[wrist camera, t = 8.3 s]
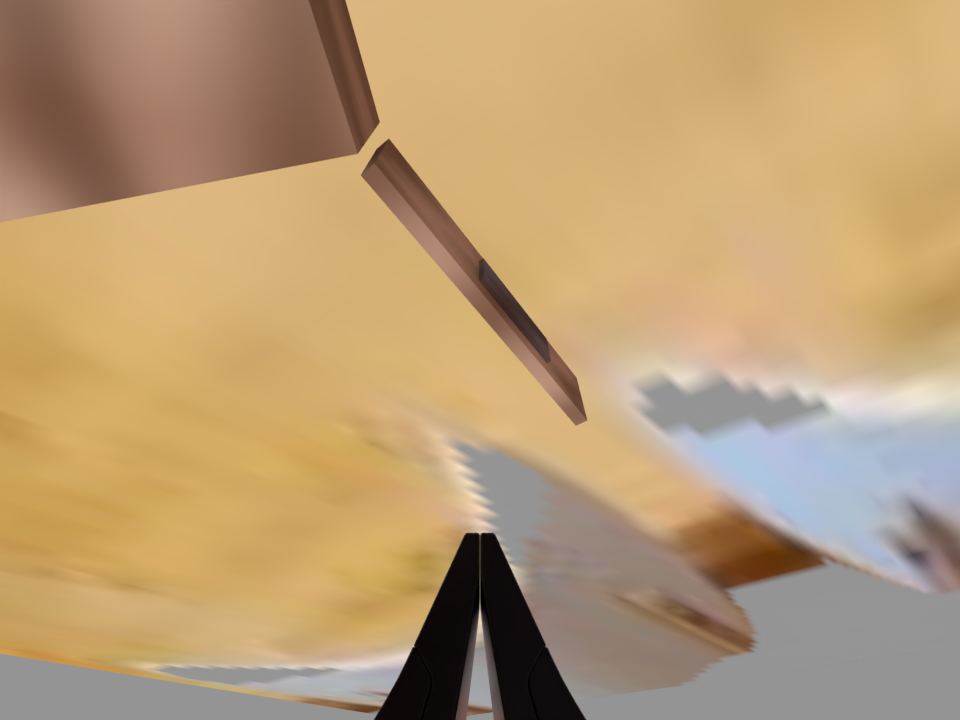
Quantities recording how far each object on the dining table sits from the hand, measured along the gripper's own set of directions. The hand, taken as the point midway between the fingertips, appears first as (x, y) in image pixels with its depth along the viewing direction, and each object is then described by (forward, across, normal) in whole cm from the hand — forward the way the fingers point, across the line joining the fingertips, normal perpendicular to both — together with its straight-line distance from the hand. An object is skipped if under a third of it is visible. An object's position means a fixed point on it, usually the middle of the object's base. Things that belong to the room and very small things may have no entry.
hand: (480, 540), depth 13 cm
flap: (+11, +1, +2) cm, 11 cm away
